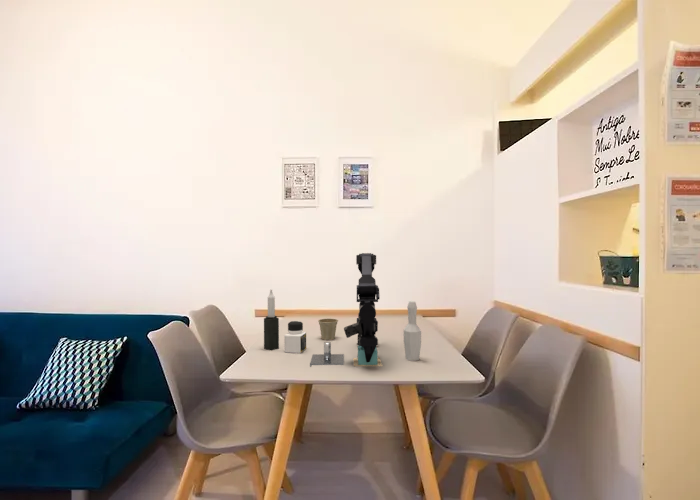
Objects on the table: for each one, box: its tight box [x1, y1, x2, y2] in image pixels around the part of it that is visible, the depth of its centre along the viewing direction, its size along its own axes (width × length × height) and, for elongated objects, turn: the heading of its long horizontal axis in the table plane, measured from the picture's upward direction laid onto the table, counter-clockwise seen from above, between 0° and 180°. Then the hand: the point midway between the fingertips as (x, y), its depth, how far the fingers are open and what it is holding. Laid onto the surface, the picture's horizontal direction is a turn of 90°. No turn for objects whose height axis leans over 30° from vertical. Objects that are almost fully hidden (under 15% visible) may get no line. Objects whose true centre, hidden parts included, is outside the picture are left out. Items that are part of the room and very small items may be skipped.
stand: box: [352, 357, 383, 367], centre depth 139 cm, size 10×10×5 cm
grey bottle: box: [403, 300, 422, 362], centre depth 143 cm, size 6×6×22 cm
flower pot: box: [317, 318, 339, 341], centre depth 178 cm, size 9×9×9 cm
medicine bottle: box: [283, 320, 307, 354], centre depth 157 cm, size 7×7×12 cm
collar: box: [357, 345, 379, 365], centre depth 139 cm, size 7×7×5 cm
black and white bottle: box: [263, 288, 280, 351], centre depth 161 cm, size 5×5×25 cm
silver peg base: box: [309, 341, 345, 367], centre depth 142 cm, size 12×12×7 cm
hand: (367, 359), depth 139 cm, fingers closed on collar, 7 cm apart
